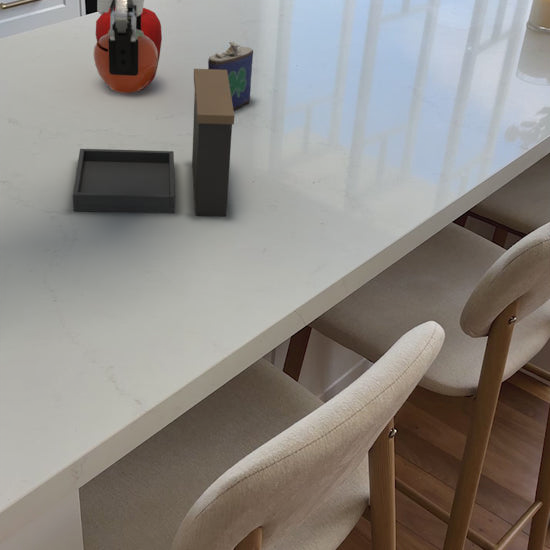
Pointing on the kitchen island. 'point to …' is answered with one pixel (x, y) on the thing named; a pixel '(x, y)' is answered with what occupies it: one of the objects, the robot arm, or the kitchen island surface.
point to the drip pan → (124, 181)
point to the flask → (236, 72)
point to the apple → (148, 27)
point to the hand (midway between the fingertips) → (125, 59)
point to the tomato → (127, 82)
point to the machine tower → (211, 141)
